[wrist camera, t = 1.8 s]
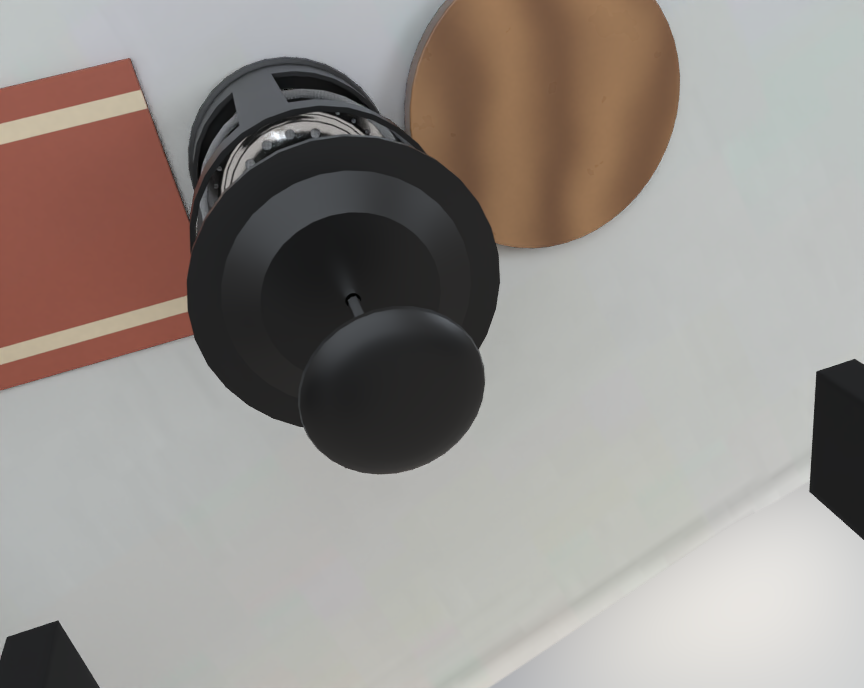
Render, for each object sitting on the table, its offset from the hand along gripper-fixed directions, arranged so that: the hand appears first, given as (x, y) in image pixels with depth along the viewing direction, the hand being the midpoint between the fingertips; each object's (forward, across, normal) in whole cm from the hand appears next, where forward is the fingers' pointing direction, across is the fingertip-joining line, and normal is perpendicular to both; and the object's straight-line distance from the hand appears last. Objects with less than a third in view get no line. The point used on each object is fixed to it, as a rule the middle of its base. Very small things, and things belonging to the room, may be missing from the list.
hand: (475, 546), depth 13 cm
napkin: (+27, +12, 0) cm, 30 cm away
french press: (+28, 0, 0) cm, 28 cm away
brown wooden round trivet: (+28, -12, 0) cm, 30 cm away
